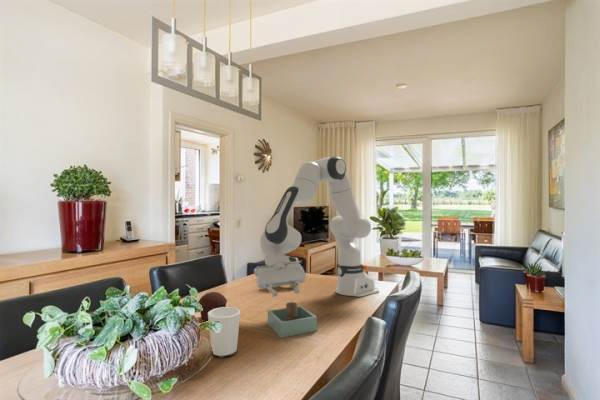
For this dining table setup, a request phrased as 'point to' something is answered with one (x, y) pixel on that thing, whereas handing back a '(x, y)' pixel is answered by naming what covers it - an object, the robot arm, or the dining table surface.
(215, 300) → the muffin
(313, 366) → the dining table surface
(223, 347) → the cup
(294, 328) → the bin
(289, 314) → the walnut peg
